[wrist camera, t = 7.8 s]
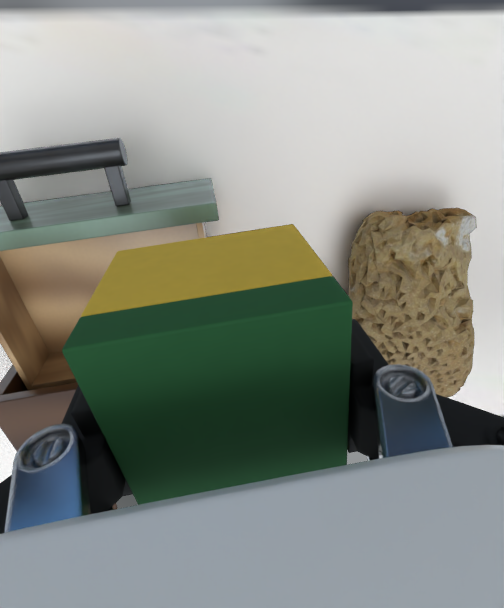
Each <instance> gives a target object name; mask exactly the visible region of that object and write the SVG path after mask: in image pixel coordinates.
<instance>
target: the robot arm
mask: <svg viewBox="0 0 504 608" xmlns="http://www.w3.org/2000/svg"><path fill="white" fill-rule="evenodd" d="M347 450H348V452H349V453H351V452H356V451H358V452H360V453H362V454H364V455H366V456H367V461H365V462H359V463H355V464H349V465H343V466H338V467H332V468H327V469H322V470H316V471H311V472H306V473H300V474H295V475H290V476H284V477H279V478H274V479H269V480H264V481H258V482H253V483H248V484H243V485H237V486H232V487H227V488H222V489H217V490H212V491H206V492H201V493H196V494H191V495H186V496H181V497H175V498H170V499H165V500H160V501H155V502H150V503H145V504H140V505H135V506H130V507H125V508H120V509H117V505H116V502H117V501H118V500H119V499H120V498H121V497H122V496H126V495H131V494H133V493H132V491H131V489H130V487H129V485H128V483H127V481H126V479H125V477H124V475H123V473H122V471H121V469H120V467H119V465H118V463H117V461H116V459H115V457H114V455H113V453H112V451H111V449H110V447H109V445H108V443H107V441H106V439H105V437H104V435H103V433H102V431H101V429H100V427H99V425H98V423H97V421H96V419H95V417H94V415H93V413H92V411H91V409H90V407H89V405H88V403H87V401H86V399H85V397H84V395H83V393H82V391H81V389H80V387H79V385H78V387H77V389H76V391H75V393H74V396H73V398H72V400H71V403H70V405H69V407H68V410H67V412H66V414H65V416H64V419H63V421H62V423H61V424H56V425H52V426H49V427H46V428H44V429H42V430H40V431H38V432H37V433H35V434H34V435H32V436H31V437H30V438H28V439H27V440H26V441H25V442H24V443H23V444H22V445H21V447H20V448H19V450H18V451H17V453H16V455H15V458H14V462H13V470H12V475H11V476H10V477H8V478H7V479H5V480H4V481H3V482H1V483H0V608H504V418H503V417H501V416H498V415H495V414H492V413H489V412H486V411H483V410H481V409H478V408H475V407H472V406H469V405H466V404H464V403H461V402H458V401H455V400H452V399H449V398H446V397H444V396H441V395H438V394H436V392H435V389H434V386H433V384H432V382H431V380H430V378H429V377H428V376H427V375H426V374H424V373H423V372H422V371H420V370H418V369H416V368H413V367H410V366H407V365H400V364H394V365H389V364H388V363H387V361H386V360H385V359H384V357H383V356H382V354H381V353H380V352H379V350H378V349H377V348H376V346H375V345H374V343H373V342H372V341H371V339H370V338H369V336H368V335H367V334H366V332H365V331H364V330H363V328H362V327H361V325H360V324H359V323H358V321H357V320H356V319H352V334H351V361H350V387H349V414H348V440H347Z"/></svg>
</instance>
